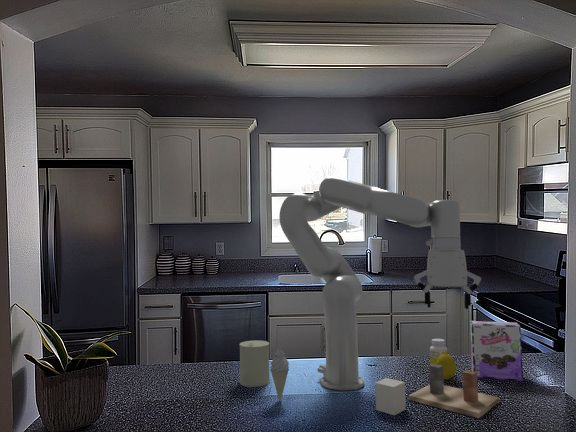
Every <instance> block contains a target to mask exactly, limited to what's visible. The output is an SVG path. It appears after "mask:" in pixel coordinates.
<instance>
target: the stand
mask: <svg viewBox="0 0 576 432" xmlns="http://www.w3.org/2000/svg"><path fill="white" fill-rule="evenodd" d="M428 369H429V370H428V371H429V372H428V373H429V384H427V385H426V386H425V387H423V388H420V389H419V390H416V391H415V392H413V393H411V394H408V401H411V400H412V401H411V402H414V401H415V402H414V403H418V402H419V404H422V405H427V406H431V407H434V408H437V409H442V410H447V411H449V412H453V413H457V414H461V415H465V416H467V417H468V416H469V417H473V418H477V419H480V418H482V416H484V415H485V414H486V413H488V412H489V411H491V410H492V409H493V408H494V407H495V406H497V405H498V404H499V403H500V402H499V401H500V397H499V396H494V395H489V394H485V393H481V392H479V390H478V389H479V387H478V378H477V372H474V371H472V370H468V369H466V370H464V371H463V372H462V387H463V388H460V387H459V388H457V387H453V386H449V385H444V377H443V366H442V365H436V364H432V365H431V364H430V365H429V366H428ZM498 402H499V403H498ZM497 403H498V404H497ZM496 404H497V405H496ZM493 406H494V407H493ZM492 407H493V408H492ZM491 408H492V409H491Z"/></svg>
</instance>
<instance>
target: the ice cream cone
mask: <svg viewBox="0 0 576 432" xmlns="http://www.w3.org/2000/svg"><path fill="white" fill-rule="evenodd" d="M270 365H271V366H269V372H270V373H271V377H272V380H273V383H274V386H275V392H276V394H277V395H276V396H277V398H278V401H279V400H281V401H282V398H283V395H284V394H283V393H284V391H285V390H284V389H285V386H286V381H287V377H288V374H289V371H290V369H289V368H290V367H289V366H290V363H289V360H288V359H287V358H286V356H285V352H284V351H283V349H282V346H281V344H280V343H278V346H277V348H276V351H275V353H274V357H273V358H272V360H271V362H270Z"/></svg>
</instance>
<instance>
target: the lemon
mask: <svg viewBox="0 0 576 432" xmlns="http://www.w3.org/2000/svg"><path fill="white" fill-rule="evenodd" d="M437 365H442V366H443V379H445V381H448V380H449V379H451V378H453V377H454V376H455V374H456V372H457V364H456V360H455V358H453V356H452V355H450V354H449V353H448V354H447V353H444V354H442V355H440V356H439V357H438V360H437Z"/></svg>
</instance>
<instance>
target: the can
mask: <svg viewBox="0 0 576 432" xmlns="http://www.w3.org/2000/svg"><path fill="white" fill-rule="evenodd" d="M270 379H271V378H270V342H268V341H267V340H261V339H260V340H254V339H253V340H245V341H242V342H240V343H239V382H238V383H239V385H241V386H244V387H246V388H258V387H264V386H268V385H269V384H270V382H271V380H270Z"/></svg>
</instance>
